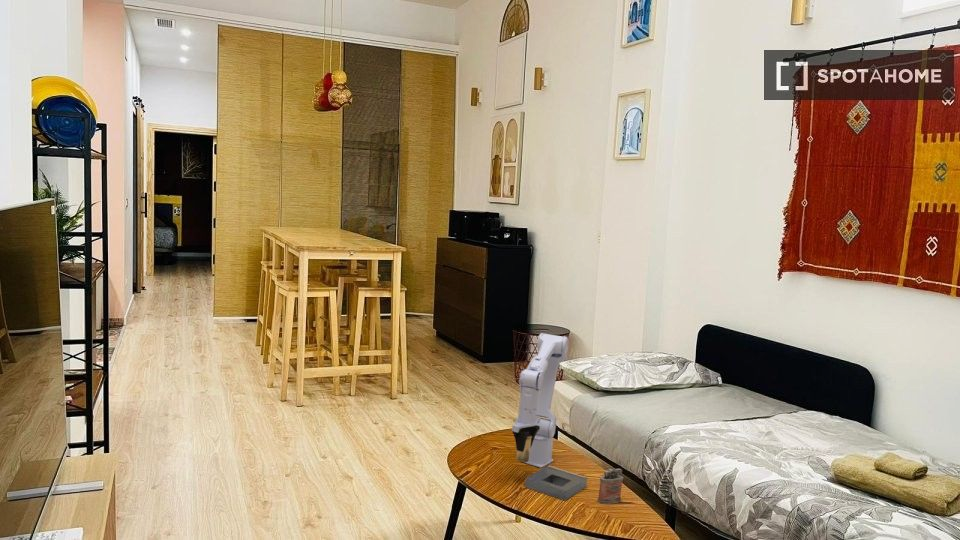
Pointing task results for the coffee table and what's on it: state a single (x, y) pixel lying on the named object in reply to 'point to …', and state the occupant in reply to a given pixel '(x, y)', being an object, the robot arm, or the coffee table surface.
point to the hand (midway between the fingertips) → (523, 449)
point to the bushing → (525, 451)
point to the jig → (556, 482)
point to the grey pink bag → (610, 487)
